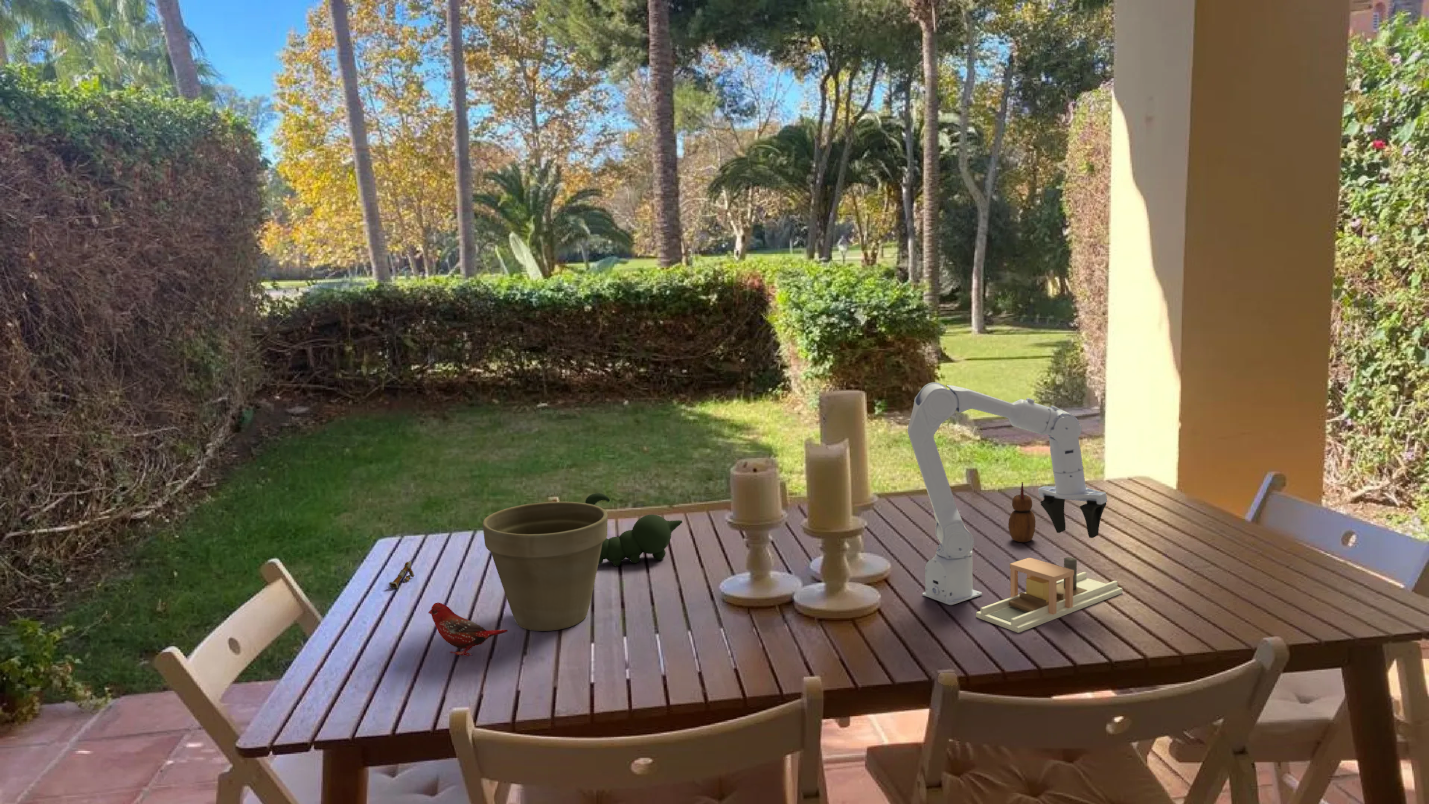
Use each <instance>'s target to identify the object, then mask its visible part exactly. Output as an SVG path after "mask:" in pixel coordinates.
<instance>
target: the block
mask: <svg viewBox="0 0 1429 804" xmlns="http://www.w3.org/2000/svg"><path fill="white" fill-rule="evenodd" d="M1025 586H1026V587H1025V592H1026V594H1029V595H1032V596H1035V597H1038V598H1041V599H1044V600H1046V602H1049V580H1045V579H1042V578H1039V577H1035V576H1032V577H1029V578H1027V577H1026V578H1025Z"/></svg>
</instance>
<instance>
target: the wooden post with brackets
mask: <svg viewBox="0 0 1429 804" xmlns="http://www.w3.org/2000/svg"><path fill="white" fill-rule="evenodd" d="M411 566H412V561H411V560H409V561H406V562H404V566H403V568H402V569H401V570H400V571H399V573H398V574H397V577H396V578H395V579H394V580H393V581H389V582H388V584H389V587H390V588H391V589H399V584H400V583H401V580H402V579H403V583H408V582H409V581H410V580H412V578H414V577H415V573H414V571H413V569H412V567H411ZM407 572H408V575H406V574H407Z"/></svg>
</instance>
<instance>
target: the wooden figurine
mask: <svg viewBox="0 0 1429 804" xmlns="http://www.w3.org/2000/svg"><path fill="white" fill-rule="evenodd" d="M1020 487H1021V488H1020V492H1019V493H1020V494H1016V495H1014V496H1013V498H1012V501H1011V507H1012V509H1013V511H1012V512H1011V513H1010V515H1009V518H1008V522H1007V523H1008V530H1009V531H1008V532H1009V535H1010V537H1011V539H1012V540H1013V541H1015V542H1018V543H1027V542H1030V541H1032V539H1033V537H1034V536H1035V535H1034V534H1035V531H1036V521H1037V520H1036V516H1035V513H1034V512H1033V511H1032V509H1033V508H1032V507H1033V499H1032V498H1031V496H1030V495H1026V494H1025V492H1024V482H1023V481H1022V482H1021V486H1020Z"/></svg>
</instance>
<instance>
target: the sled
mask: <svg viewBox="0 0 1429 804" xmlns="http://www.w3.org/2000/svg"><path fill="white" fill-rule="evenodd" d="M1077 562H1078V560H1077V558H1075V557H1069V556H1068V557H1064V558H1063V567H1064V568H1068V569H1071V570H1074V575H1073V596H1074V595H1077V594H1080V593H1083V592H1085V591H1087V590H1086V589H1082V588H1079V587H1077V574H1078V573H1077V572H1078V571H1077V569H1078V568H1077V565H1078V564H1077ZM1018 595H1019V598H1017V599H1014V600H1012V601H1009V605H1010V606H1013V607H1015V608H1018V609H1021V610H1024V611H1027V612H1031V611H1034V610H1036V609H1039V608H1042V607H1045V606H1047V605H1049V602H1046V600H1044V599H1041V598H1038V597H1035V596H1032V595H1029V594H1026V593H1025V592H1018ZM1064 599H1065V579H1064V583H1060V584H1057V601H1056V602H1058V601H1061V600H1064Z"/></svg>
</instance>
